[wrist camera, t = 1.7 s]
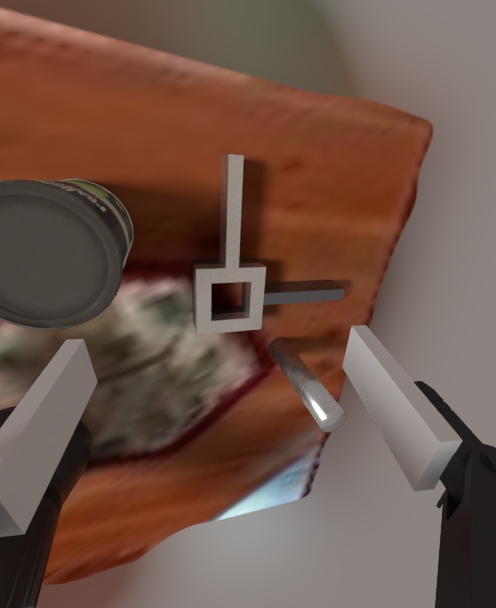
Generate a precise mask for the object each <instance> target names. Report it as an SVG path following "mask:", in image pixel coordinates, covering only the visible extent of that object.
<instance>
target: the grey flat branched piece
mask: <svg viewBox="0 0 496 608" xmlns="http://www.w3.org/2000/svg"><path fill="white" fill-rule="evenodd" d="M243 161H244V156H242V155H231V154H228V155H225V156H221V160H220V223H219V260H192V296H193V323H194V326H195V330H196V334H197V335H203V334H214V333H224V332H235V331H245V330H256V329H261V325H262V312H263V305H272V304H286V303H301V302H315V301H329V300H342V299H343V294H344V288H342V287H340V286H339V285H337V284H335V283H333V282H332V281H330V280H319V281H298V282H276V283H265V276H266V267H265V266H264V265H263V264H262V263H260V262H259V261H258V260H257V259H239V252H240V230H241V207H242V184H243ZM232 282H242V294H241V306H233V307H219V308H211V283H232Z"/></svg>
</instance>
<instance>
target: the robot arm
mask: <svg viewBox="0 0 496 608" xmlns="http://www.w3.org/2000/svg"><path fill="white" fill-rule="evenodd" d="M342 367H343V369H344V371H345V373H346V374H347V376H348V378H349V379H350V381H351V383H352V385H353V386H354V388H355V390H356V391H357V393H358V395H359V397H360V398H361V400H362V402H363V404H364V405H365V407H366V409H367V410H368V412H369V414H370V416H371V417H372V419H373V421H374V423H375V424H376V426H377V428H378V430H379V431H380V433H381V434H382V436H383V438H384V440H385V442H386V443H387V445H388V447H389V449H390V450H391V452H392V454H393V455H394V457H395V459H396V461H397V462H398V464H399V465H400V468H401V469H402V471H403V473H404V474H405V476H406V478H407V480H408V481H409V483H410V485H411V487H412V488H413V490H414V491H420V490H429V489H434V488H435V486H436V485H437V483H438V481H439V480H441V481H442V483H443V484H444V486H445V488H446V490H445V492H444V493H443V495H442V497H441V498H440V500H439V501H438V503H437V507H438V508H440V507H441V506H442V504H443V509H442V523H441V535H440V550H439V563H438V575H437V588H436V601H435V608H496V448H495V447H493V446H489V445H486V444H483V443H482V442H481V441H480V440H479V439H478V438H477V437H476V436H475V435H474V434H473V433H472V431H471V430H470V429H469V428H468V427H467V426H466V425H465V424H464V422H463V421H462V420H461V419H460V418H459V417H458V416H457V415H456V414H455V412H453V411H452V410H451V408H450V407H449V406H448V405H447V404H446V403H445V402H443V399H442V398H441V397H440V396H439V395H438V394H437V392H436V391H435V390H434V389H432V388H431V387H429V386H428V385H427V384H425V383H424V382H422V381H417V382H413V381H412V380H411V378H410V377H409V376H408V375H407V374H406V373H405V371H404V370H403V369H402V368H401V366H400V365H399V364H398V363H397V362H396V361H395V359H394V358H393V357H392V356H391V355H390V354H389V352H388V351H387V350H386V349H385V348H384V346H383V345H382V344H381V343H380V341H379V340H378V339H377V338H376V337H375V336H374V334H373V333H372V332H371V331H370V330H369V328H368V327H367V326H366V325H362V326H352V327H351V331H350V336H349V340H348V344H347V349H346V353H345V358H344V362H343V366H342ZM97 383H98V382H97V379H96V375H95V372H94V369H93V366H92V363H91V360H90V357H89V354H88V351H87V348H86V344H85V341H84V339H69V340H66V341H65V342H64V344H63V345H62V346H61V348H60V349H59V350H58V352H57V353H56V354H55V356H54V357H53V358H52V360H51V361H50V362H49V364H48V365H47V366H46V368H45V369H44V370H43V372H42V373H41V374H40V376H39V377H38V378H37V380H36V381H35V382H34V384H33V385H32V386H31V388H30V389H29V390H28V392H27V393H26V395H25V396H24V397H23V399H22V400H21V401H20V403H19V404H18V405H17V407H14V408H9V409H5V410H1V411H0V608H36V605H37V601H38V597H39V593H40V589H41V585H42V582H43V578H44V574H45V570H46V566H47V562H48V558H49V555H50V551H51V547H52V543H53V539H54V535H55V531H56V527H57V524H58V519H59V515H60V512H61V508H62V505H63V504H64V502H65V501H66V499H67V497H68V496H69V494H70V493H71V491H72V489H73V488H74V486H75V485H76V483H77V482H78V480H79V478H80V477H81V475H82V474H83V472H84V470H85V468H86V466H87V464H88V460H89V456H90V452H91V445H92V443H91V437H90V434H89V432H88V430H87V428H86V427H85V426H84V425H83V424H82V423H81V422H80V421H79V420H80V418H81V416H82V414H83V412H84V410H85V408H86V406H87V404H88V401H89V399H90V397H91V395H92V393H93V391H94V389H95V387H96V385H97Z"/></svg>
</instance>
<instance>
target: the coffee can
mask: <svg viewBox="0 0 496 608" xmlns="http://www.w3.org/2000/svg"><path fill="white" fill-rule="evenodd" d="M133 238H134V233H133V225H132V221H131V218H130V216H129V213H128V211H127V210H126V208H125V207H124V205H123V204H122V202H121V201H120V200H119V199H118V198H117V197H116V196H115V195H114V194H112V193H111V192H110V191H108V190H107V189H105V188H104V187H102V186H100V185H98V184H95V183H92V182H90V181H87V180H81V179H65V180H55V181H30V180H4V181H0V320H2V321H4V322H7V323H10V324H13V325H16V326H20V327H24V328H30V329H36V330H59V329H66V328H70V327H74V326H77V325H80V324H83V323H85V322H87V321H89V320H91V319H93V318H94V317H96V316H97V315H99V314H100V313H101V312H103V311H104V310H105V309H106V308H107V307H108V306H109V304H110V303H111V302H112V300H113V299H114V297H115V296H116V294H117V292H118V290H119V287H120V284H121V280H122V274H123V268H124V266H125V262H126V259H127V256H128V254H129V252H130V249H131V247H132V243H133Z"/></svg>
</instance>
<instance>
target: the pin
mask: <svg viewBox="0 0 496 608" xmlns="http://www.w3.org/2000/svg"><path fill="white" fill-rule="evenodd" d="M269 352H270V353H271V355H272V356H273V358H274V359H275V361H276V362H277V364H278V365H279V367H280V368H281V370H282V371H283V373H284V374H285V376H286V377H287V379H288V380H289V382H290V383H291V385H292V386H293V388H294V389H295V391H296V392H297V394H298V395H299V397H300V398H301V400H302V401H303V403H304V404H305V405H306V407H307V408H308V410H309V411H310V413H311V414H312V416H313V417H314V419H315V420H316V422H317V423H318V425H319V426H320V428H321V429H322V430H323V431H325V432H331V431H334V430H336V429H338V428H339V427H340V426H341V425H342V424H343V423H344V421H345V418H346V414H345V412H344V411H343V410H342V408H341V407H340V406H339V405H338V403H337V402H336V401H335V400H334V398H333V397H332V396H331V395H330V394H329V392H328V391H327V390H326V389H325V387H324V386H323V385H322V384H321V383H320V381H319V380H318V379H317V378H316V376H315V375H314V374H313V373H312V372H311V370H310V369H309V368H308V367H307V365H306V364H305V363H304V362H303V361H302V359H301V358H300V357H299V356H298V354H297V353H296V352H295V351H294V349H293V348H292V347H291V346H290V345H289V343H288V342H287V341H286V340H285V339H284V338H276V339H274V340H272V341H271V343H270V344H269Z"/></svg>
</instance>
